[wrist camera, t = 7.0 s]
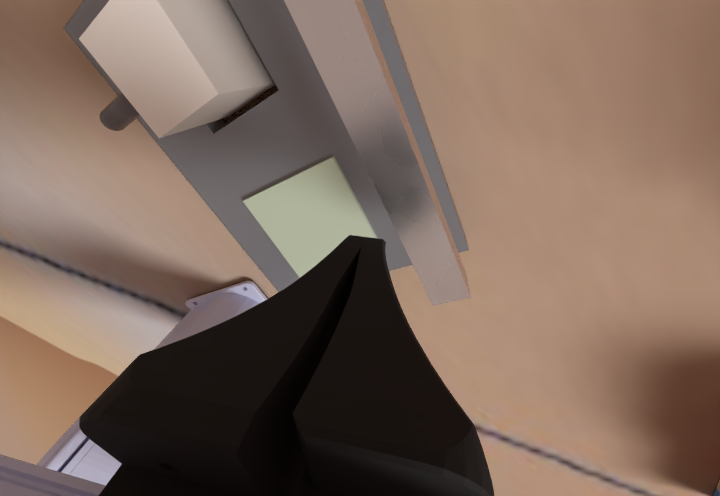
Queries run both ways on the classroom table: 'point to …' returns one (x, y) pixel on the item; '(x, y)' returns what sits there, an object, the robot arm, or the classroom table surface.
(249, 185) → the socket plate
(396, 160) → the ball-topped lever
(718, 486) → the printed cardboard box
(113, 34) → the plug
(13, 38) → the classroom table surface
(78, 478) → the robot arm
